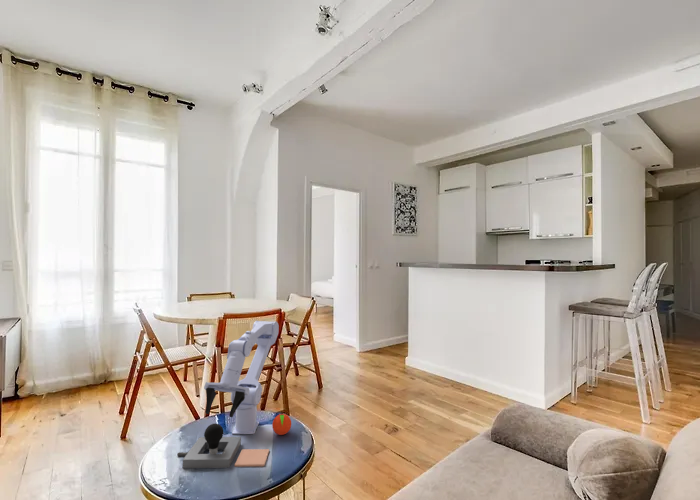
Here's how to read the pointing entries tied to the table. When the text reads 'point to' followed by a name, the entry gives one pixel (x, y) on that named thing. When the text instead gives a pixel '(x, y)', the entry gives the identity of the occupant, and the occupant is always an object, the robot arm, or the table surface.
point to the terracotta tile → (252, 457)
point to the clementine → (281, 424)
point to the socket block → (201, 460)
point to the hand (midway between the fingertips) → (218, 414)
